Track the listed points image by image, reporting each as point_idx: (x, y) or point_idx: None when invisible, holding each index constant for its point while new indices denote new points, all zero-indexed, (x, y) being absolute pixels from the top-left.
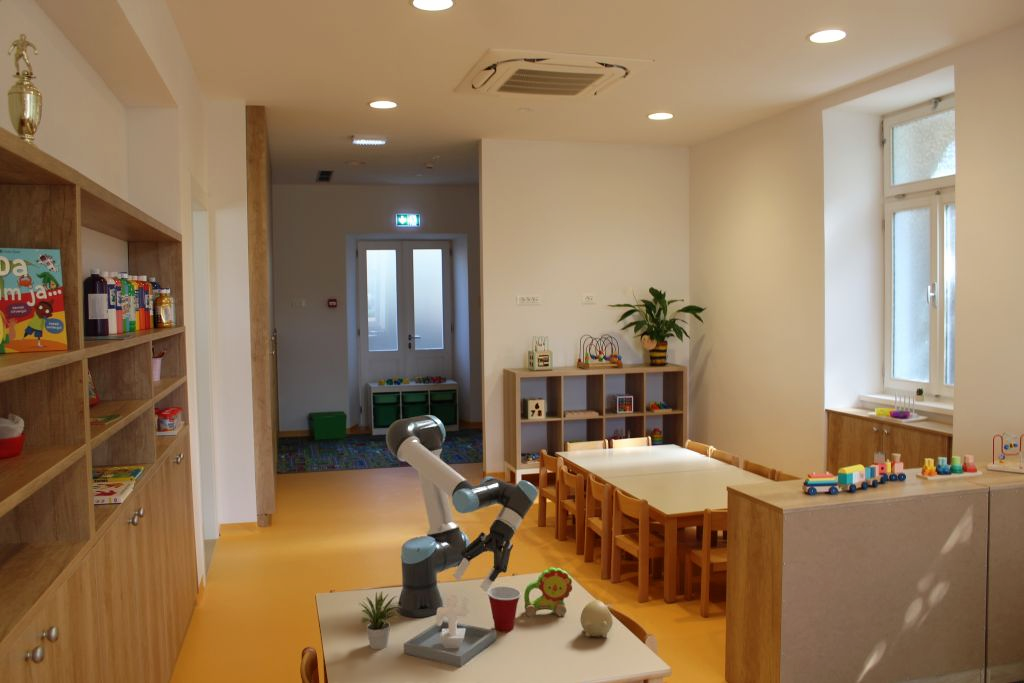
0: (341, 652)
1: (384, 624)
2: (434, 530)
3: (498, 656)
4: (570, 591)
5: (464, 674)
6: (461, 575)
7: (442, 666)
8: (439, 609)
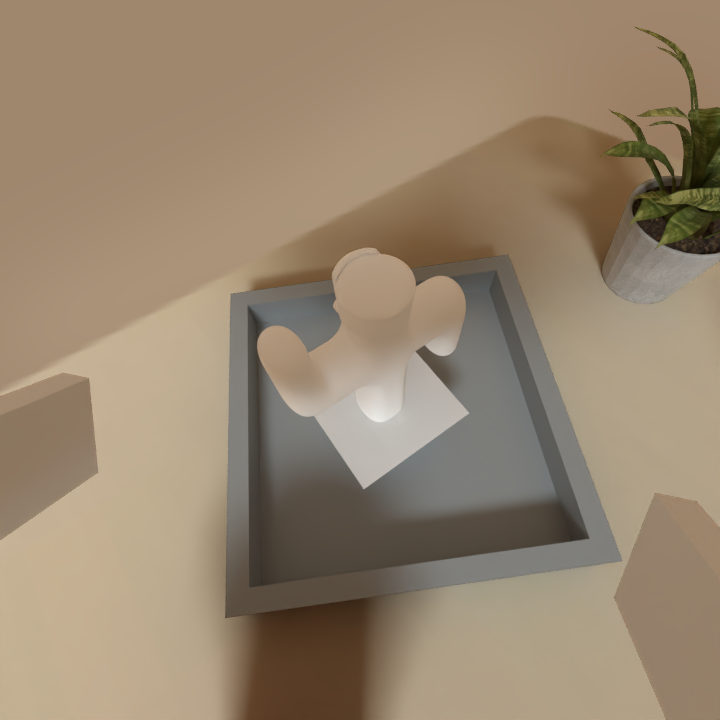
0: None
1: (696, 250)
2: None
3: (151, 463)
4: None
5: (203, 287)
6: (652, 661)
7: None
8: (432, 277)
